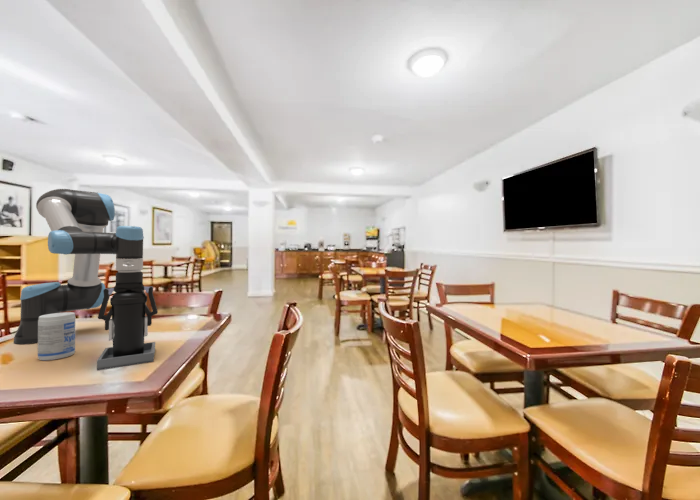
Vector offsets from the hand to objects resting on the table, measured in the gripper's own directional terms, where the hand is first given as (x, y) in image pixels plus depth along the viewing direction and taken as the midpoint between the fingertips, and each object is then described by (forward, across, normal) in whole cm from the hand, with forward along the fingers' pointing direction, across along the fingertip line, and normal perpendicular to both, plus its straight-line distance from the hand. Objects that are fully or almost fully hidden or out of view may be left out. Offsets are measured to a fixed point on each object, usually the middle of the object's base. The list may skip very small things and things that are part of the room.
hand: (128, 337), depth 104 cm
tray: (+7, 0, 0) cm, 7 cm away
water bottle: (+6, 0, 0) cm, 6 cm away
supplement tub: (+8, -22, +16) cm, 28 cm away
